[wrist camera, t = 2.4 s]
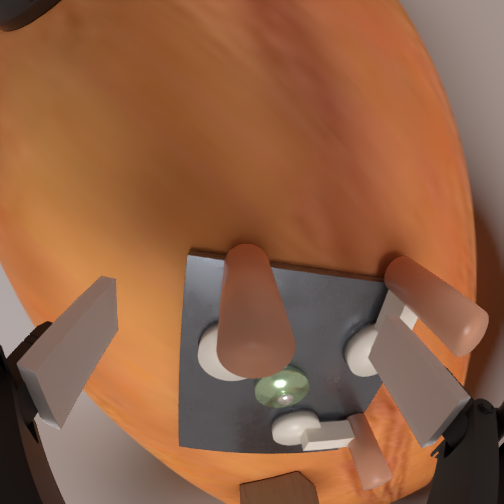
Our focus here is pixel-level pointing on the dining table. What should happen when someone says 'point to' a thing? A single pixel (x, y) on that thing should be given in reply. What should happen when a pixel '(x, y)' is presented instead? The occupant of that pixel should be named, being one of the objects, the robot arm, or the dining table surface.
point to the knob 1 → (247, 321)
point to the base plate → (288, 379)
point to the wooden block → (279, 491)
